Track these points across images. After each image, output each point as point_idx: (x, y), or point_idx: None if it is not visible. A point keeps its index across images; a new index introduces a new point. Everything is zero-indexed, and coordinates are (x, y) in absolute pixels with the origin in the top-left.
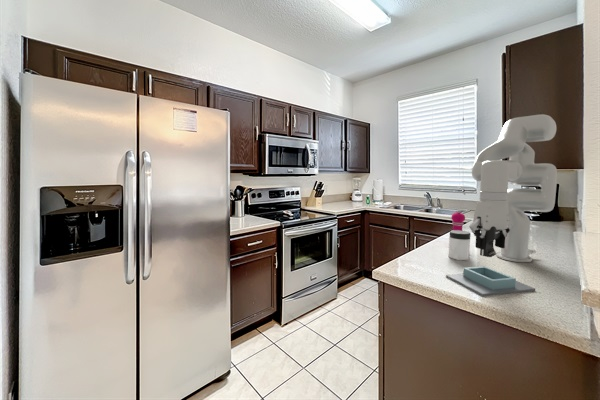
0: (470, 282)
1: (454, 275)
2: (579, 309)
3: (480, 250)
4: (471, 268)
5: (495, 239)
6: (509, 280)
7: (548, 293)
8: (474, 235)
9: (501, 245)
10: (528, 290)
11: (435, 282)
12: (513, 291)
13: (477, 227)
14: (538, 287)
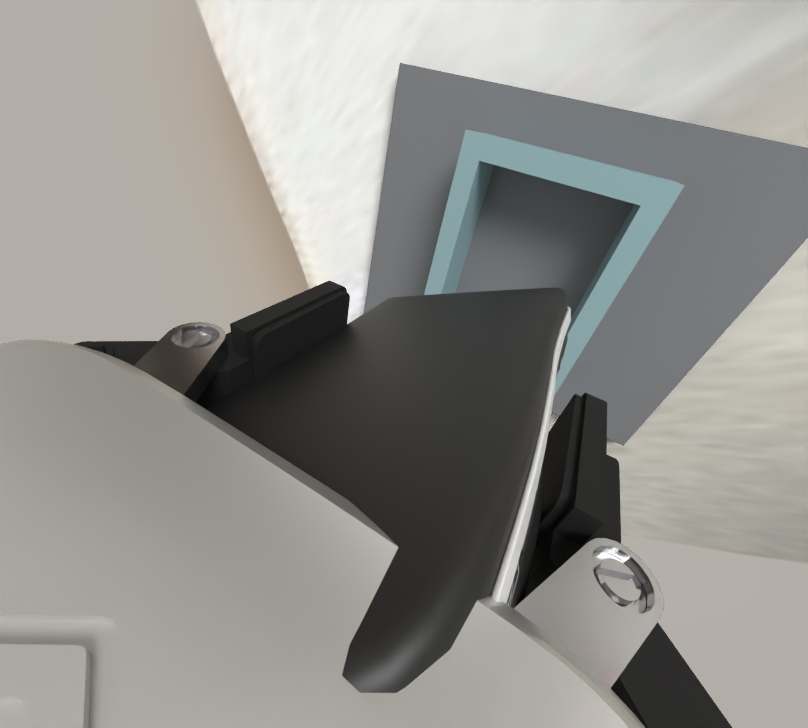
0: (421, 231)
1: (439, 98)
2: None
3: (364, 315)
4: (507, 168)
5: (565, 451)
6: None
7: (639, 475)
8: (192, 324)
9: None
10: None
11: (302, 116)
12: None
13: (120, 379)
14: (710, 446)
